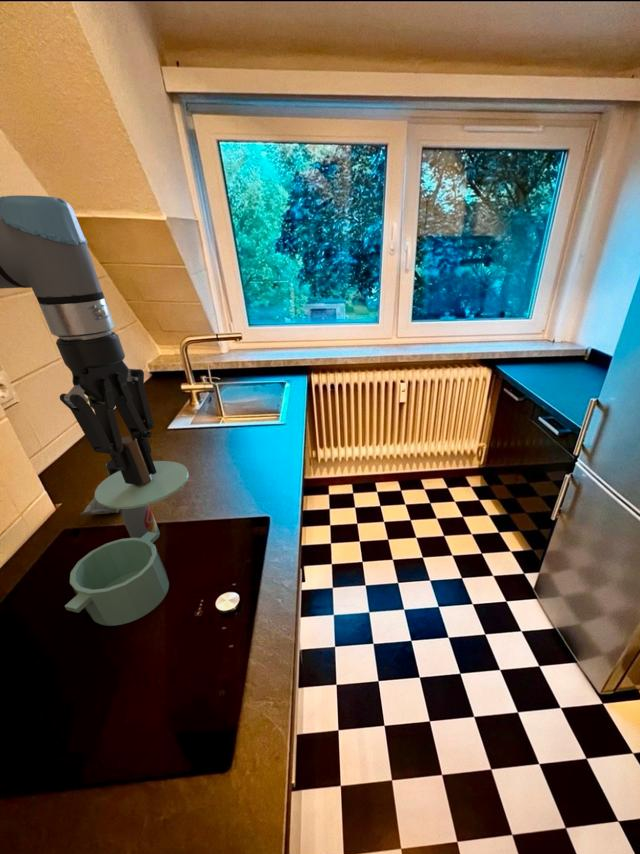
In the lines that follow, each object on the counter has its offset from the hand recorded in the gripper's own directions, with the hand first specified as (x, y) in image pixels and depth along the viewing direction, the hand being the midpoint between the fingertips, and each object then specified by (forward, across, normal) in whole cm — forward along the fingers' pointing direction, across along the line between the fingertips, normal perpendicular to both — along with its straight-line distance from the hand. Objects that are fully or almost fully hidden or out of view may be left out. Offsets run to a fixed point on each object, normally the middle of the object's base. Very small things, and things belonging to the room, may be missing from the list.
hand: (141, 477), depth 66 cm
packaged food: (+23, +16, +31) cm, 42 cm away
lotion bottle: (+23, +8, +14) cm, 28 cm away
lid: (+1, 0, 0) cm, 1 cm away
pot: (+23, -7, +5) cm, 25 cm away
